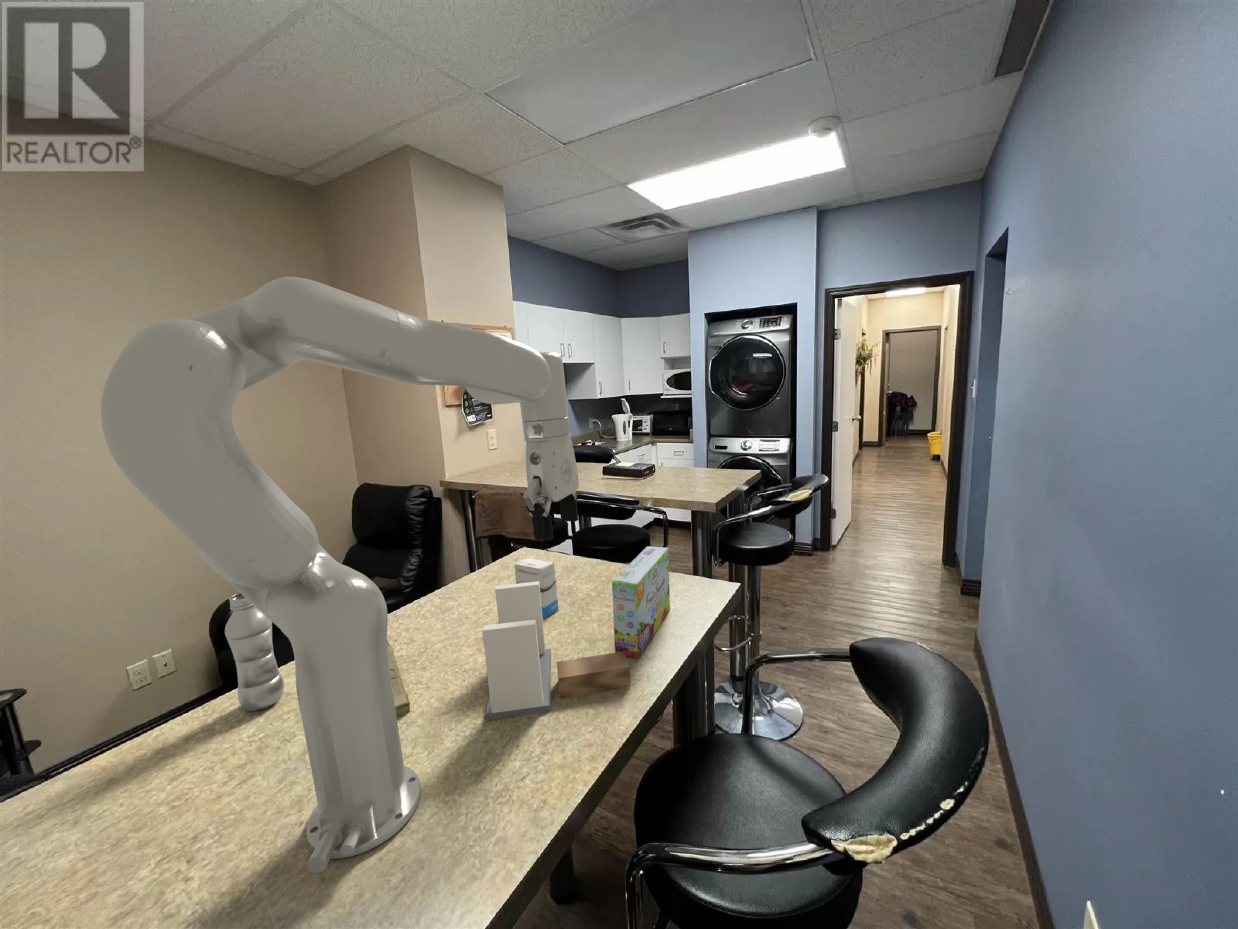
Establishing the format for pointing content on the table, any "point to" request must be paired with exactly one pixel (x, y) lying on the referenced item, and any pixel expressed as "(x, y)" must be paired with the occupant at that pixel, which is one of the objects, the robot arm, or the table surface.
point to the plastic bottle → (253, 655)
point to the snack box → (640, 600)
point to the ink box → (540, 581)
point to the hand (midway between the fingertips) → (557, 529)
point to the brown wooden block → (593, 674)
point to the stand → (517, 654)
